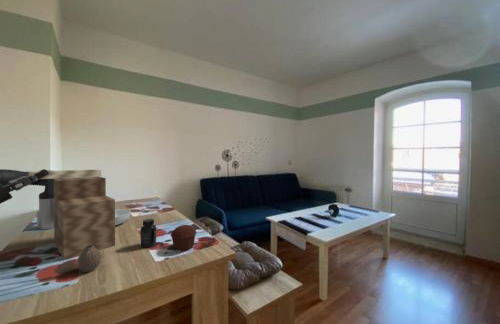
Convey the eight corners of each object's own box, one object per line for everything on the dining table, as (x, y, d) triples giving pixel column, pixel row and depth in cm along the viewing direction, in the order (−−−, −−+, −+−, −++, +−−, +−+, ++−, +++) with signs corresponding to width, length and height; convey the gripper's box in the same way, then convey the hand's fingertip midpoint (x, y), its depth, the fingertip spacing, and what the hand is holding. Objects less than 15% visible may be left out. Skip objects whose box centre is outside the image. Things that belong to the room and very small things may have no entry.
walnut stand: (63, 260, 82) (63, 184, 81) (54, 242, 98) (53, 178, 98) (115, 245, 96) (114, 180, 95) (99, 231, 112) (98, 176, 111)
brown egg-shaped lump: (86, 264, 79) (86, 242, 79) (105, 264, 79) (105, 242, 79) (72, 275, 72) (72, 250, 72) (92, 274, 72) (92, 250, 72)
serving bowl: (137, 222, 129) (137, 212, 128) (99, 233, 111) (99, 220, 111) (120, 217, 139) (120, 207, 139) (83, 225, 122) (83, 214, 121)
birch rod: (29, 179, 78) (28, 172, 78) (28, 179, 79) (28, 171, 79) (101, 176, 95) (101, 169, 95) (99, 175, 97) (99, 169, 97)
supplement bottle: (159, 243, 99) (159, 218, 99) (148, 249, 93) (148, 223, 92) (148, 240, 101) (148, 217, 101) (137, 246, 95) (136, 221, 95)
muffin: (189, 240, 103) (189, 220, 103) (201, 247, 95) (201, 226, 95) (166, 247, 95) (166, 226, 95) (176, 255, 87) (176, 232, 87)
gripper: (-24, 191, 65) (42, 163, 76) (-20, 186, 74) (38, 162, 85) (-5, 209, 68) (56, 180, 79) (-4, 202, 77) (51, 177, 88)
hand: (46, 171), depth 82 cm, fingers closed on birch rod, 3 cm apart
